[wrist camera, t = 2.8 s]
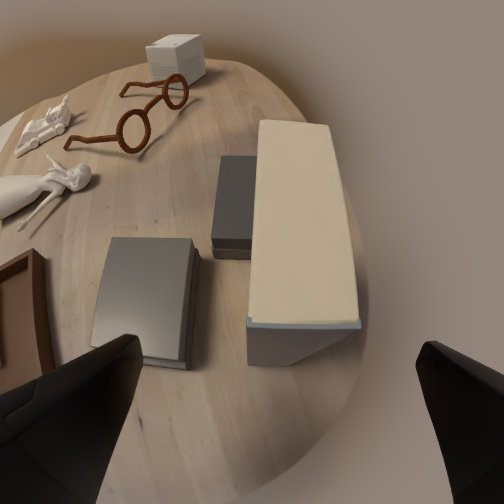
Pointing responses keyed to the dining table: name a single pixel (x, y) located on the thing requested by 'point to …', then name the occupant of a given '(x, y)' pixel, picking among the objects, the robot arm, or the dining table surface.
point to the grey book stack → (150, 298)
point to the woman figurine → (39, 188)
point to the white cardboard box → (177, 58)
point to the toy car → (44, 128)
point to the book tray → (23, 321)
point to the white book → (298, 248)
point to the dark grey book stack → (234, 208)
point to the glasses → (142, 113)
